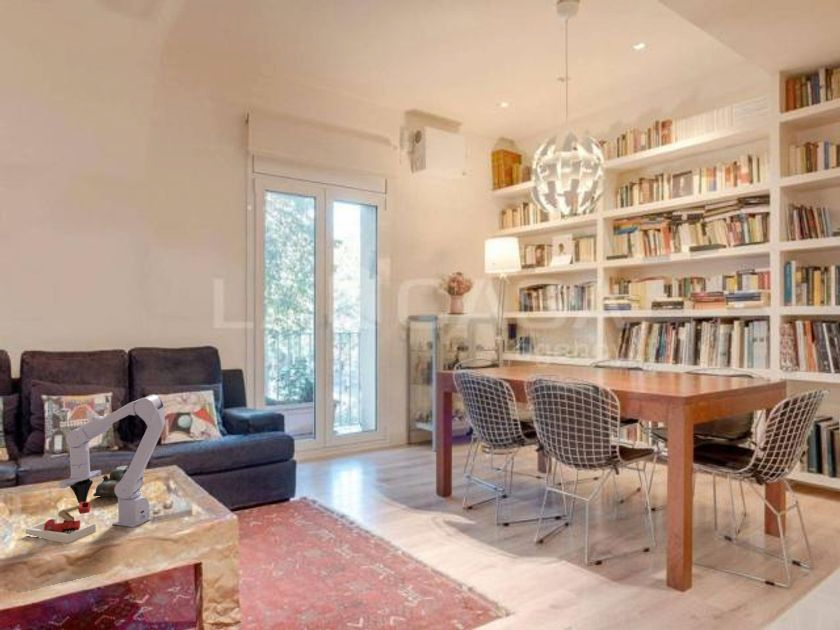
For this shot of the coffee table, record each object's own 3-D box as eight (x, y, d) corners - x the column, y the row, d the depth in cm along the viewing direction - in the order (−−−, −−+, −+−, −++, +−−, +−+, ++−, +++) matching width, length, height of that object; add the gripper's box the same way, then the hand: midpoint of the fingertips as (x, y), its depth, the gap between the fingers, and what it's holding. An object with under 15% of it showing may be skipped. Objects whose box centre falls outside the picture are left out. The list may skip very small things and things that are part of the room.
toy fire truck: (46, 530, 194) (42, 506, 190) (93, 523, 198) (90, 500, 195) (43, 537, 191) (40, 513, 187) (91, 530, 195) (88, 507, 192)
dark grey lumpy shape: (90, 496, 231) (103, 461, 237) (122, 503, 237) (134, 468, 243) (96, 494, 219) (110, 457, 225) (129, 501, 225) (142, 465, 231)
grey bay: (95, 531, 195) (95, 523, 195) (68, 543, 185) (68, 535, 185) (54, 525, 201) (54, 518, 201) (26, 536, 192) (25, 528, 192)
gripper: (90, 457, 209) (91, 495, 209) (51, 468, 195) (53, 509, 195) (104, 458, 206) (106, 496, 206) (67, 469, 192) (69, 511, 193)
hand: (82, 502), depth 201 cm, fingers closed
